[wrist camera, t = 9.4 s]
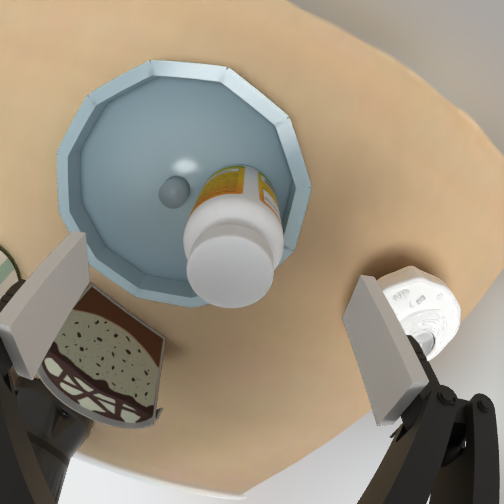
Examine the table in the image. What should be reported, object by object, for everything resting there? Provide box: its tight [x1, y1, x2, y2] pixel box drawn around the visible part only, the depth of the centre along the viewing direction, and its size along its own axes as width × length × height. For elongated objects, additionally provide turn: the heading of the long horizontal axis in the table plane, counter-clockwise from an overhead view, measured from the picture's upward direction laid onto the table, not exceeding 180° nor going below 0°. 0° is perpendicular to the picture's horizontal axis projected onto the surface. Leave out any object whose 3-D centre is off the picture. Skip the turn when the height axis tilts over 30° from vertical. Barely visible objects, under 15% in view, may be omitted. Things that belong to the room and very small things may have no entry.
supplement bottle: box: [183, 165, 284, 308], centre depth 19 cm, size 5×5×10 cm
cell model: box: [377, 266, 461, 361], centre depth 25 cm, size 10×12×7 cm
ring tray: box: [57, 60, 312, 308], centre depth 22 cm, size 18×18×3 cm
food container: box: [37, 283, 166, 429], centre depth 26 cm, size 12×6×10 cm, turn 44°
